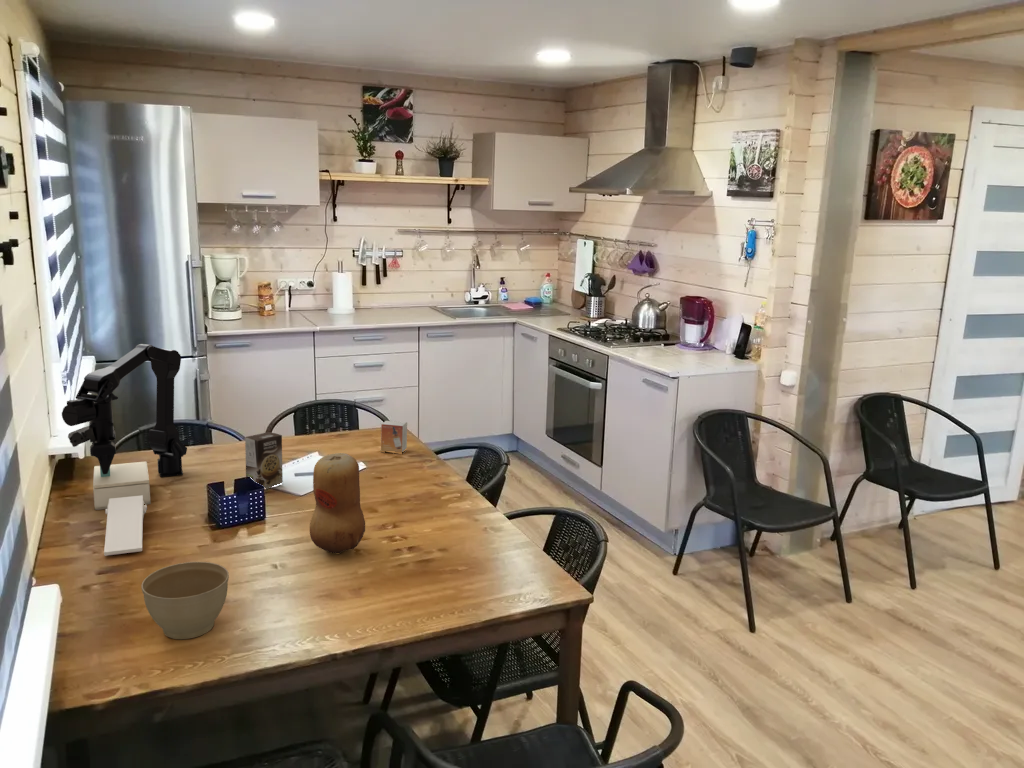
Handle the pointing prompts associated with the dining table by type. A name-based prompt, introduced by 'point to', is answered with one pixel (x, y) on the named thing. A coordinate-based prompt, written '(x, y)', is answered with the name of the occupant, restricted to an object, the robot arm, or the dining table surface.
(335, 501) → the butternut squash
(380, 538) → the dining table surface
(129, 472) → the cover panel
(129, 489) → the carton
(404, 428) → the small box
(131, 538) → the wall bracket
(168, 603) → the planter bowl
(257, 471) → the coffee box
